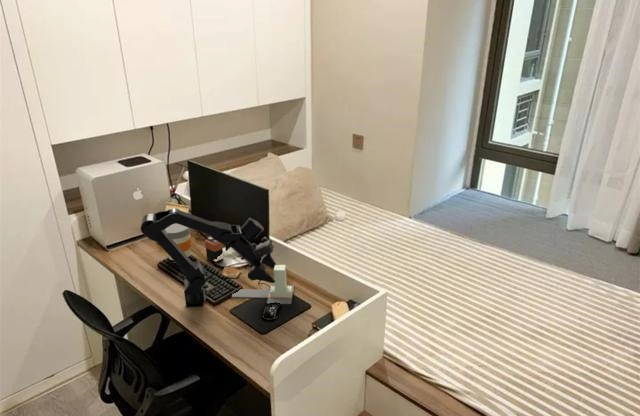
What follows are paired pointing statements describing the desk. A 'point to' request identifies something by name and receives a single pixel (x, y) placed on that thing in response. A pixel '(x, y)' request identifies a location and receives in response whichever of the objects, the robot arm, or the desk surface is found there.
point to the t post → (280, 283)
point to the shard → (231, 272)
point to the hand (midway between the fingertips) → (276, 275)
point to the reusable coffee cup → (180, 237)
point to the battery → (213, 248)
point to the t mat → (263, 295)
